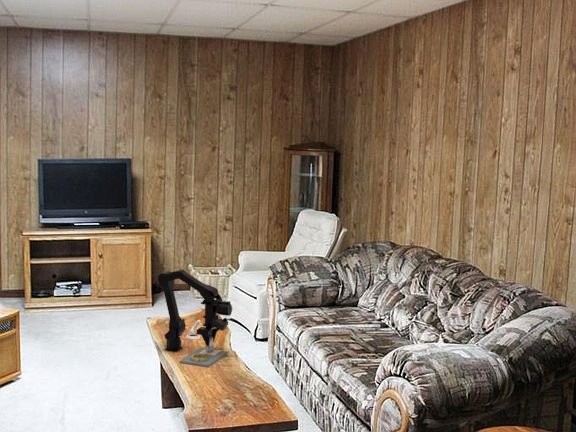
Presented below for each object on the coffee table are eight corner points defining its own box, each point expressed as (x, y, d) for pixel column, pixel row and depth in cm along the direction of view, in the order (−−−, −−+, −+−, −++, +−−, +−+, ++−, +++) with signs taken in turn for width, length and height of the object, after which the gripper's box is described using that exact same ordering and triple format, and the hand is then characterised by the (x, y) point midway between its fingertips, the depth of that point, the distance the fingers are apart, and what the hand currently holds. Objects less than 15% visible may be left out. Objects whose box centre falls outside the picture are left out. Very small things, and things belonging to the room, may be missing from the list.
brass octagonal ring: (187, 360, 323) (187, 357, 323) (195, 355, 331) (195, 352, 330) (203, 363, 320) (203, 360, 320) (211, 357, 328) (211, 354, 328)
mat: (199, 353, 334) (199, 352, 334) (206, 348, 341) (206, 348, 341) (214, 355, 331) (214, 355, 331) (220, 350, 339) (221, 350, 339)
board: (179, 363, 322) (179, 361, 322) (200, 349, 343) (200, 347, 343) (208, 367, 317) (208, 365, 317) (227, 353, 338) (227, 351, 338)
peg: (212, 352, 333) (210, 338, 333) (204, 352, 335) (203, 338, 334) (215, 349, 337) (214, 336, 336) (208, 349, 339) (206, 336, 338)
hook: (208, 330, 358) (197, 323, 356) (195, 347, 361) (184, 340, 359) (209, 323, 365) (198, 317, 363) (196, 340, 368) (185, 333, 366)
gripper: (217, 320, 322) (217, 352, 324) (233, 310, 340) (232, 341, 342) (196, 317, 326) (195, 349, 328) (213, 308, 344) (212, 338, 345)
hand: (210, 344), depth 336 cm, fingers open, 5 cm apart
